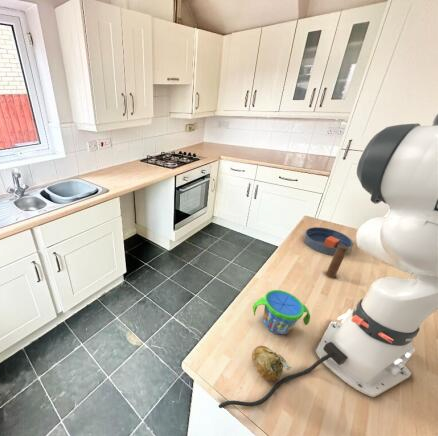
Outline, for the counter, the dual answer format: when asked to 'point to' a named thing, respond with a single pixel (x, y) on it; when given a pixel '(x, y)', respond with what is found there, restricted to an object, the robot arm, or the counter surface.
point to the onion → (268, 363)
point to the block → (331, 242)
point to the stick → (336, 260)
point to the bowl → (318, 236)
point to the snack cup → (281, 311)
